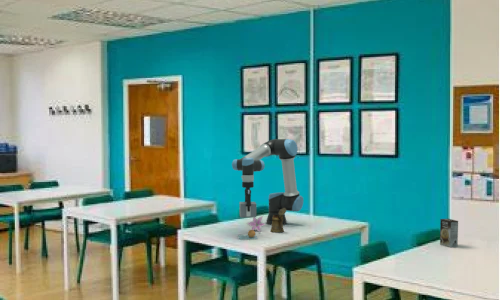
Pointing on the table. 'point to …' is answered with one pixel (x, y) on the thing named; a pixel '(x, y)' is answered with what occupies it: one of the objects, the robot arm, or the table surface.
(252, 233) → the ball
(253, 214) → the matte grey cube
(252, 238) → the tape square
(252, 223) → the lily
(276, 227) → the wooden mug
